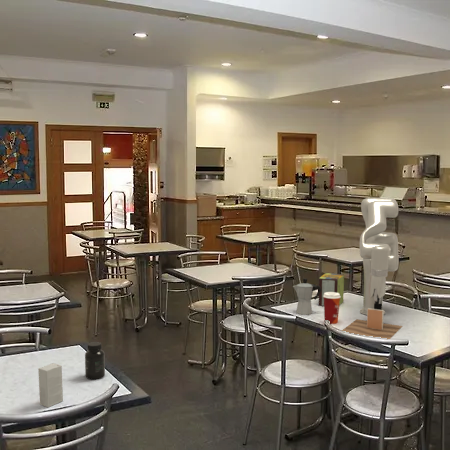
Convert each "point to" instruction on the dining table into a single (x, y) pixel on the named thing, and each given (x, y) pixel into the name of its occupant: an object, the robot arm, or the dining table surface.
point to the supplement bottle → (94, 361)
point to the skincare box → (50, 385)
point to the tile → (375, 318)
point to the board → (362, 329)
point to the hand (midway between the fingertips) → (377, 311)
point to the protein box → (331, 286)
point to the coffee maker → (305, 296)
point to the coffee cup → (331, 306)
